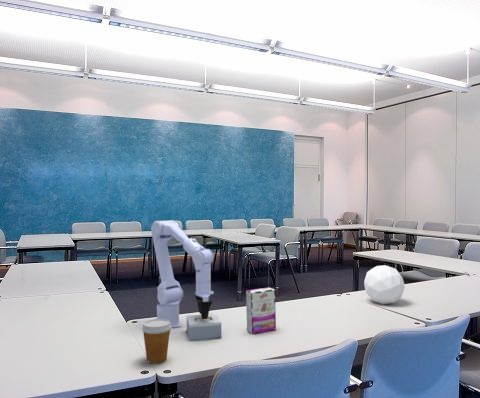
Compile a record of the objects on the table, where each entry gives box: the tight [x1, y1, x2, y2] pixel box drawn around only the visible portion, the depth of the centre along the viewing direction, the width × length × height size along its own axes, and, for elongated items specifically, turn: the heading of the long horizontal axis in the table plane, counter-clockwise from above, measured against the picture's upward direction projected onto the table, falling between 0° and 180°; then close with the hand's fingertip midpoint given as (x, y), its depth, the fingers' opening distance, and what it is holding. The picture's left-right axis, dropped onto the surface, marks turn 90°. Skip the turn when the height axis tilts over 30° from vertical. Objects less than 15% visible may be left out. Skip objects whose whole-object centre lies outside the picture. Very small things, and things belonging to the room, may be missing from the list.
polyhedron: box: [363, 264, 406, 305], centre depth 196 cm, size 19×20×20 cm
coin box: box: [186, 313, 222, 342], centre depth 149 cm, size 12×12×6 cm
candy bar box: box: [245, 287, 277, 335], centre depth 154 cm, size 11×5×16 cm, turn 117°
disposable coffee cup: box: [141, 318, 173, 364], centre depth 125 cm, size 10×10×12 cm
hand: (203, 315), depth 150 cm, fingers open, 7 cm apart
